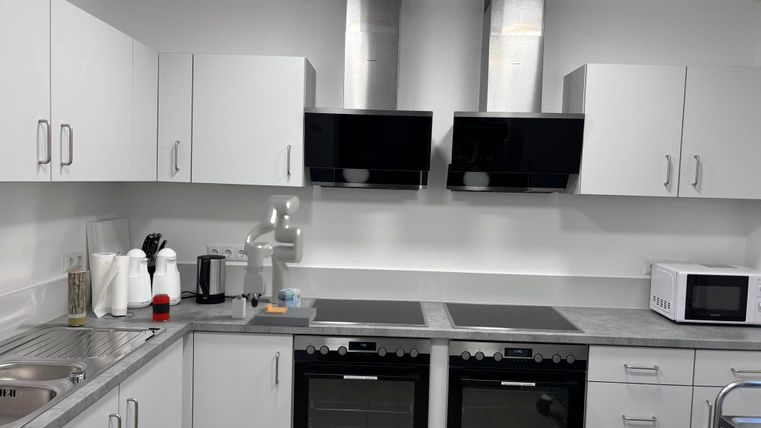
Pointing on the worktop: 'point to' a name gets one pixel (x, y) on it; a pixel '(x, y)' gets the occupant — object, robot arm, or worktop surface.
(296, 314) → the socket plate
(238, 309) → the plug
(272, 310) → the orange flat block
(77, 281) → the brown bark patterned cylinder
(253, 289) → the robot arm
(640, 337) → the worktop surface
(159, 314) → the soda can
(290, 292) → the light bulb box
